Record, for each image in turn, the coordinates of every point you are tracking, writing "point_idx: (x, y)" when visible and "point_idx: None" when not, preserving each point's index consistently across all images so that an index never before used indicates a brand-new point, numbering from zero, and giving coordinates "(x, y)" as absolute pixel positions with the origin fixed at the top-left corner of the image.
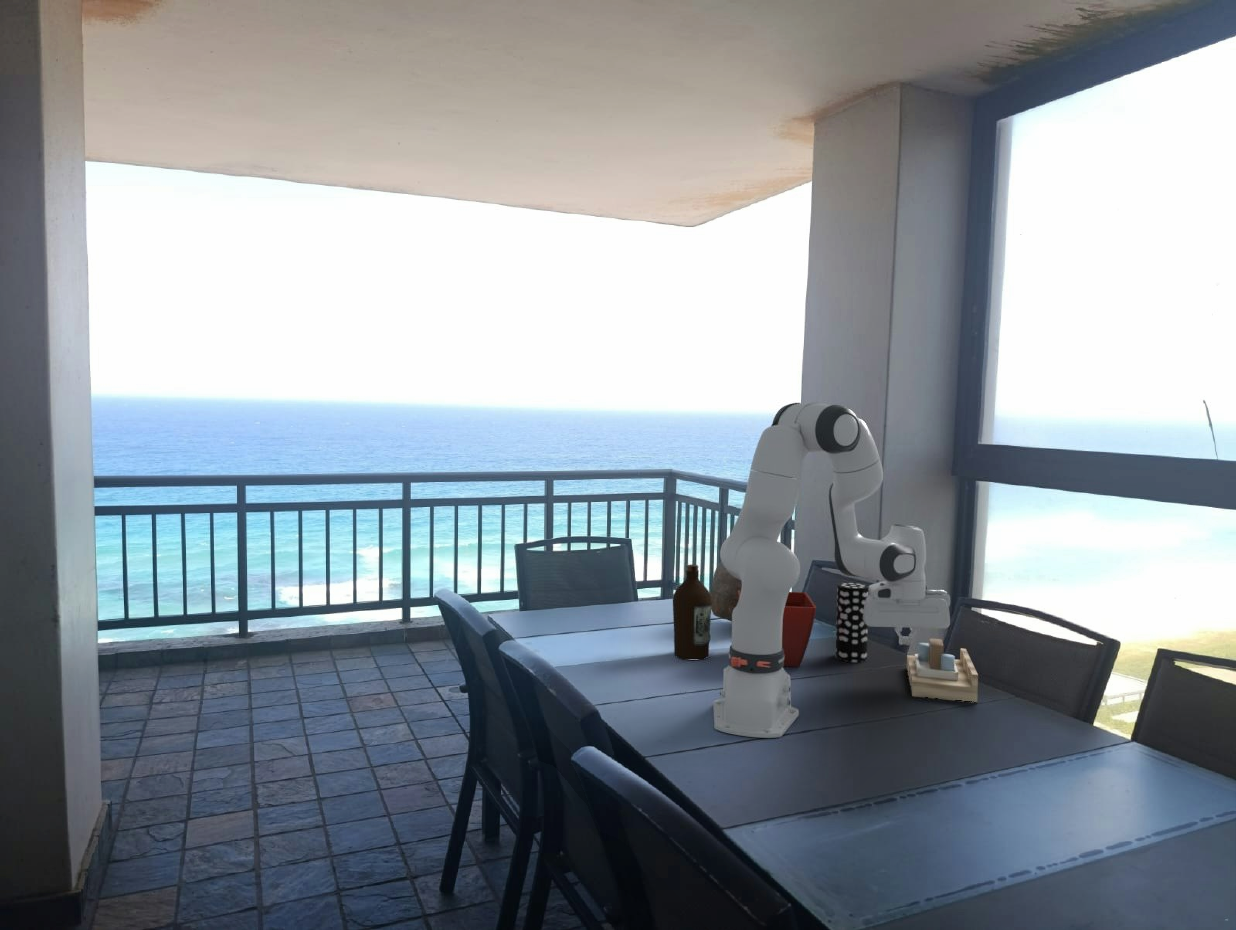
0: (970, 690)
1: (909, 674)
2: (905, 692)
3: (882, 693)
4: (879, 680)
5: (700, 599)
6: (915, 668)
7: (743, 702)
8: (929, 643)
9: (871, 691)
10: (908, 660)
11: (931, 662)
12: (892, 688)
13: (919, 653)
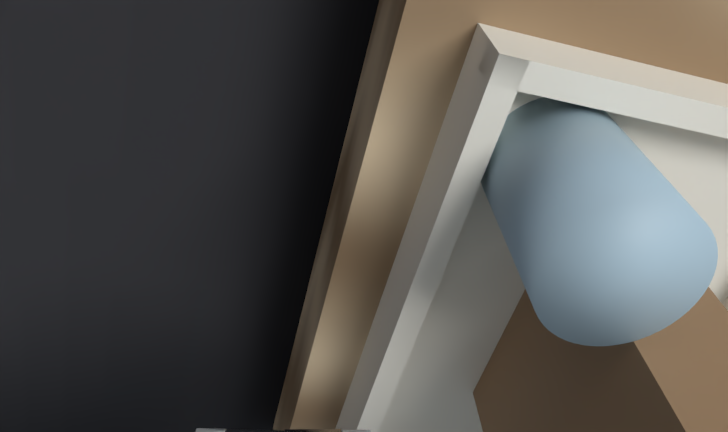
0: None
1: (336, 206)
2: (245, 381)
3: (94, 410)
4: (81, 190)
5: None
6: (382, 278)
7: None
8: (637, 409)
9: (22, 392)
10: (401, 26)
11: None
12: (169, 332)
13: (500, 226)
